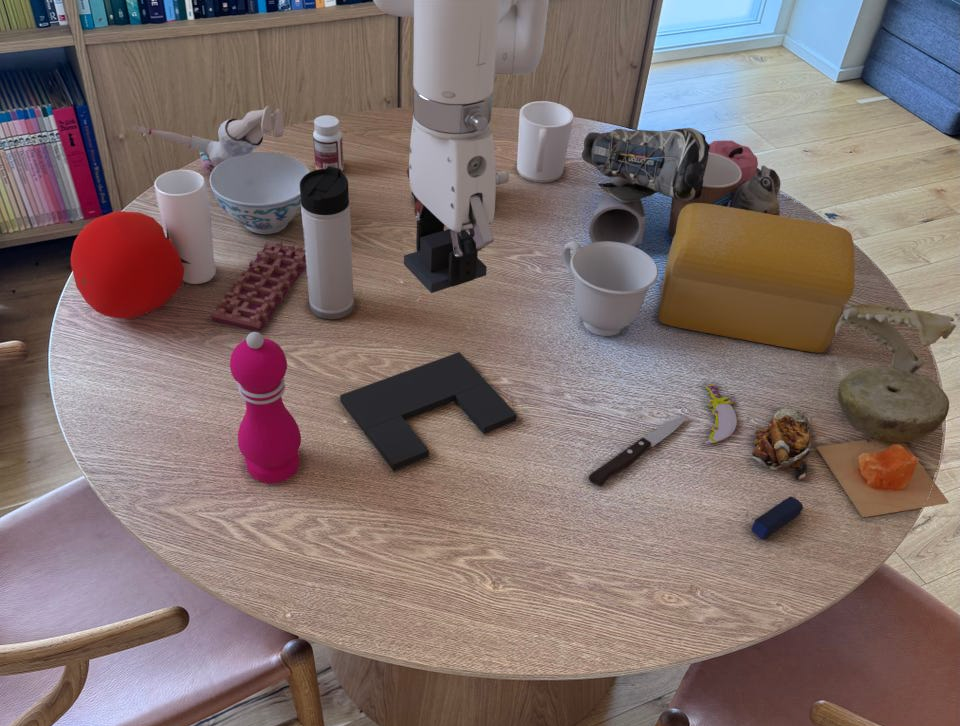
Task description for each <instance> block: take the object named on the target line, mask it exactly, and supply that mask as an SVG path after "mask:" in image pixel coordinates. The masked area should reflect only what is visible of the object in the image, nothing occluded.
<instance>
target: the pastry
mask: <svg viewBox="0 0 960 726" xmlns="http://www.w3.org/2000/svg"><path fill="white" fill-rule="evenodd" d="M811 425H812V420H811V419H810V418H809V417H807V418H806V417H805V414H804V413H802V412H800V411H798V410H797V409H794V408H790V407H785V408H781V409H779V410H776V411H775V413H774V415H773V417H772V418H771V419H770V421H768V423H767V426H766V427H765V428H760V429H757V430H755V438H754V441H753V444H754V445H756V447H755V448H754V450H753V451H752V453H751V456H752V458H753V459H754V460H756V461H757V462H758V464H759V465H761V466H763V467H767V468H769V469H770V470H772V471H775V470H778V469H781V468H793V467H794V468H797V467H798V472H796V474H795V479H796V480H798V481H803V480H804V479H805V478H806V476H807V474H806V473H807V472H808V466H807V463H806V462H805V460H806V458H807V457H809V455H810V453H811V452H810V451H811V448H812V436H811V434H810V428H811Z"/></svg>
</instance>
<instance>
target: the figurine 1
mask: <svg viewBox="0 0 960 726" xmlns="http://www.w3.org/2000/svg"><path fill="white" fill-rule="evenodd" d="M284 125H285V124H284V114H283V111H282V109H281V108H277V109H276V110H275V111H274V112H273V110H272V107H271V106H270V105H265V107H264V109H255V110H254V109H253V110H250V111H248V112H247V113H246V114H245V116H244V117H243V118H242V119H238V118H230V119H227V120H224V121H223V122H222V123H221V124H220V126H219V128H218V130H217V131H218V132H217V135H218V139H217V140H211V139H207V138H203V137H199V136H196V135H190V136H187V135H183V134H179V133H176V132H172V131H164V130H156V129H155V130H154V129H151V128H150V129H149V128H146V127H144V126H140V125H134V126H132V127H131V129H132V131H134V132H137V133H141V134H142V137H146V136H148V135H152V136H154V137H157V138H161V139H164V140H167V141H170V142H174V143H180V144H183V145H186V146H188V147H189V149H191V150H195V151H198V152H199V157H200V161H201V168H200V169H199V170H198V172H201V171H202V170H204V171H207V173H208V172H209V173H210V174H211V173H212V171H213V170H214V169H215V167H216V166H218V165H219V164H220V163H222V162H223V161H225V160H227V159H229V158H232V157H235V156H242V155H245V154H248V153H256V152H257V151H254V150H256V149H257V148H259V147H260V145H261V144H262V142H263V141H264V140H263V139H264V135H266V136H269V137H271V136H272V137H273V138H276V139H279V138H282V137H283V136H284V131H285V126H284Z"/></svg>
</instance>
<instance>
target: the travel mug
mask: <svg viewBox="0 0 960 726" xmlns="http://www.w3.org/2000/svg"><path fill="white" fill-rule="evenodd" d="M349 192H350V191H349V180H348V177H347V176H346V174H344V173H342V171H341V169H339V168H335V167H331V166H328V167H327V168H326V169H318V170H317V169H313V170H312V171H311V170H310V172H309V173H308V174H306V175H305V176H304V177H303V178H302V179H301V181H300V195H301V211H300V212H301V222H302V234H303V245H304V251H305V258H306V268H305V270H306V279H307V292H308V302H309V309H310V311H311V313H313V314H314V315H315V316H317V317H318V318H321V319H324V320H338V319H342V318H344V317H346V316H348V315H350V314H351V312H353V310H354V307H355V299H354V295H355V294H354V274H353V273H354V272H353V254H352V253H353V252H352V250H353V249H352V231H351V227H352V225H351V210H350V209H351V208H350V204H351V203H350V198H349V197H350V193H349Z"/></svg>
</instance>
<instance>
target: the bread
mask: <svg viewBox="0 0 960 726" xmlns="http://www.w3.org/2000/svg"><path fill="white" fill-rule="evenodd" d="M854 245H855V244H854V239H853V236H852V234H851V233H850V232H849V231H848V230H847V229H846V228H844V227H841V226H837V225H833V224H830V223H824V222H818V221H812V220H807V219H801V218H795V217H789V216H784V215H780V216H778V215H772V214H766V213H761V212H755V211H749V210H743V209H737V208H732V207H730V206H727V207H726V206H720V205H714V204H706V203H692V204H688V205H685V207H684V208H683V209H682V210H681V212H680V214H679V217H678V221H677V227H676V234H675V236H674V238H673V240H672V241H671V245H670V248H669V250H668V251H669V252H668V255H667V259H666V264H665V269H664V275H663V281H662V287H661V294H660V295H661V296H660V301H659V309H658V314H657V320H658V322H659V323H661V324H663V325H665V326H670V327H674V328H680V329H685V330H690V331H695V332H700V333H705V334H711V335H716V336H722V337H726V338H733V339H739V340H744V341H749V342H753V343H754V342H755V343H760V344H765V345H769V346H776V347H781V348H787V349H793V350H797V351H803V352H810V353H817V354H818V353H819V354H821V353H825V352H826V350H827V349H828V347H829V346H830V344H831V343H832V341H833V340H834V337H835V335H836V334H835V329H836V325H837V324H838V321H839V318H840V317H841V315H842V314H843V313H844V311H845V309H844V308H845V305H846V304H847V303H848V302H849V301H850V300H851V297H852V295H853V292H854V288H855V246H854Z"/></svg>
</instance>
